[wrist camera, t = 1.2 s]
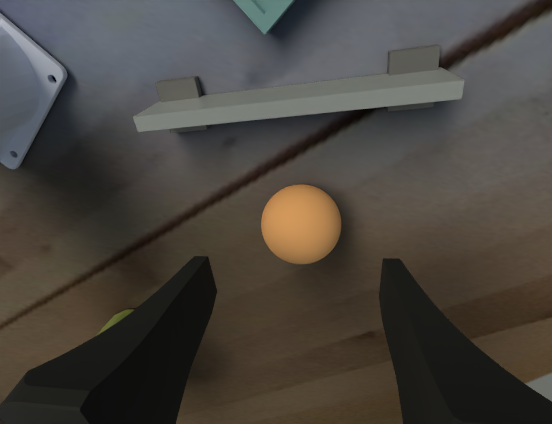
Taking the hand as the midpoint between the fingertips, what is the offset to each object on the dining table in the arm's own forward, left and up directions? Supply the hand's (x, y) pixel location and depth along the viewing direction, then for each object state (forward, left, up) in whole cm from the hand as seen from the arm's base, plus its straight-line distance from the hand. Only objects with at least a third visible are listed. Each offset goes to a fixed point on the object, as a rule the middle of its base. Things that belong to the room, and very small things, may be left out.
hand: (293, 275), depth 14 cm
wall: (+3, +4, -10) cm, 11 cm away
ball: (-2, -1, -7) cm, 7 cm away
